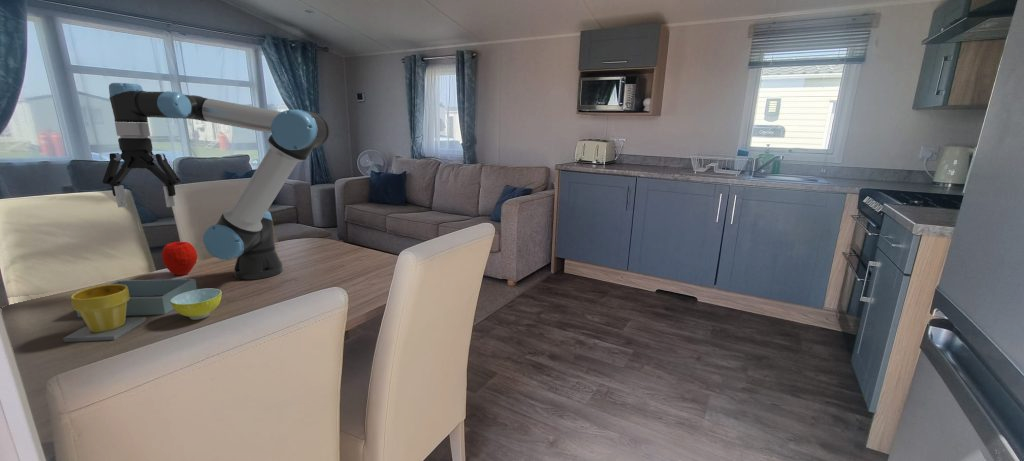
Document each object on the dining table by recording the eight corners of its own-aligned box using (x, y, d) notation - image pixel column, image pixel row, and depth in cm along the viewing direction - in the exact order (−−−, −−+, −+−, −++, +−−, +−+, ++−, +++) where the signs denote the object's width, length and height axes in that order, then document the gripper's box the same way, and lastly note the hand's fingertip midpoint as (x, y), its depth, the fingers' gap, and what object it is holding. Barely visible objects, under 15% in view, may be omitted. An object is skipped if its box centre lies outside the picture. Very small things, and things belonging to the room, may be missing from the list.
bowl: (167, 328, 109) (163, 306, 108) (181, 311, 119) (177, 291, 118) (219, 321, 114) (216, 300, 112) (228, 305, 124) (225, 286, 122)
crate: (197, 293, 132) (195, 278, 131) (165, 314, 117) (162, 297, 116) (121, 295, 129) (117, 280, 128) (77, 317, 114) (73, 300, 113)
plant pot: (100, 338, 101) (92, 300, 99) (67, 333, 103) (58, 296, 101) (145, 320, 111) (138, 285, 109) (114, 316, 113) (106, 282, 111)
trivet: (146, 320, 113) (145, 317, 113) (114, 339, 103) (113, 336, 103) (100, 322, 112) (100, 318, 112) (63, 342, 101) (63, 338, 101)
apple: (206, 270, 154) (202, 238, 151) (181, 279, 144) (176, 245, 141) (183, 268, 155) (178, 236, 152) (157, 277, 146) (151, 243, 143)
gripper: (187, 137, 132) (197, 204, 136) (98, 136, 128) (111, 204, 133) (171, 138, 124) (183, 208, 129) (76, 136, 121) (92, 208, 126)
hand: (146, 206), depth 131 cm, fingers open, 13 cm apart
